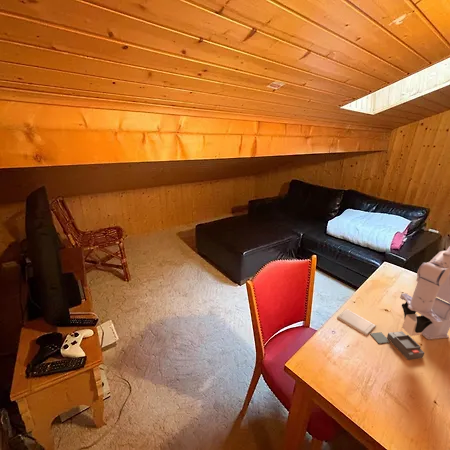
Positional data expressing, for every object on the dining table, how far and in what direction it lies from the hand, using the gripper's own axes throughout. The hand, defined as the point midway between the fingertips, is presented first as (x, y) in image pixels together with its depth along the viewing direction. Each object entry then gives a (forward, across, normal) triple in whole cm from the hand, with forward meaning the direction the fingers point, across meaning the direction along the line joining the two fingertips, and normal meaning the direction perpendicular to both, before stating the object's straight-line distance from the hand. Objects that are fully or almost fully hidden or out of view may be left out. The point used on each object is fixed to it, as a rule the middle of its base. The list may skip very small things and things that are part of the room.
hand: (412, 327), depth 87 cm
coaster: (+10, -6, -6) cm, 13 cm away
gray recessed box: (+10, 0, 0) cm, 10 cm away
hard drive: (+11, -15, -10) cm, 21 cm away
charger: (+2, 0, 0) cm, 2 cm away
